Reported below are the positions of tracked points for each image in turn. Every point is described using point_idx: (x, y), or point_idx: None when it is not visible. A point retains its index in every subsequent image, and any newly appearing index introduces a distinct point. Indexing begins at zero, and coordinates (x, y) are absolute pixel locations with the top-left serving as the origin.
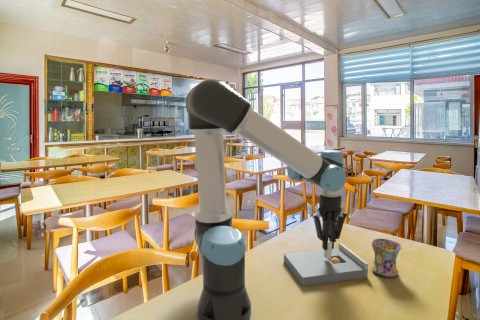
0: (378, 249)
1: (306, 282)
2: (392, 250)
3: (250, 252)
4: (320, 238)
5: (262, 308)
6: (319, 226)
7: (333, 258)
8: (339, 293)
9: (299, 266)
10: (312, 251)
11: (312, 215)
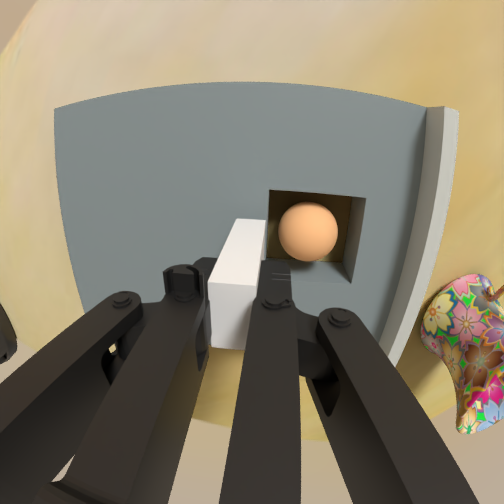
0: (458, 408)
1: None
2: (468, 433)
3: (13, 41)
4: (116, 361)
5: (27, 334)
6: (43, 457)
7: (297, 237)
8: (208, 369)
9: (86, 249)
10: (218, 93)
11: None
